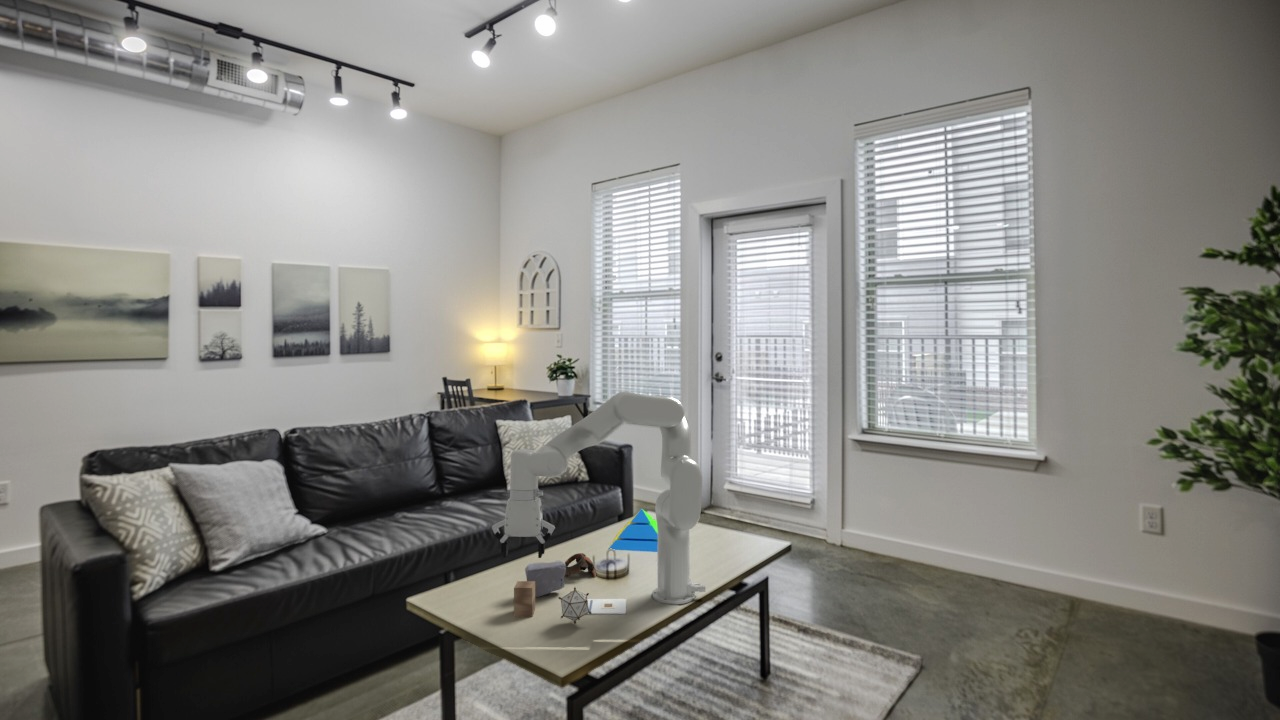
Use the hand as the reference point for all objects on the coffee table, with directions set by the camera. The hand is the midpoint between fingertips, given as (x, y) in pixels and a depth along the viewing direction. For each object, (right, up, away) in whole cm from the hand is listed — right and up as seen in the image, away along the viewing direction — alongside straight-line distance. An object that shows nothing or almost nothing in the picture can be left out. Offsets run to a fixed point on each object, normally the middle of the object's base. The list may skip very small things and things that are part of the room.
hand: (522, 556), depth 173 cm
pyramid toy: (+33, -16, +63) cm, 73 cm away
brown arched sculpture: (+15, -17, +30) cm, 38 cm away
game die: (+15, -16, -7) cm, 23 cm away
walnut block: (0, -16, 0) cm, 16 cm away
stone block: (+4, -16, +12) cm, 21 cm away
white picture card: (+22, -16, +4) cm, 28 cm away
